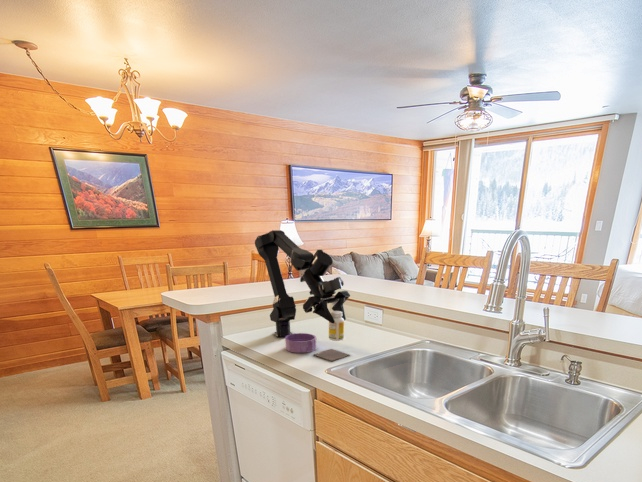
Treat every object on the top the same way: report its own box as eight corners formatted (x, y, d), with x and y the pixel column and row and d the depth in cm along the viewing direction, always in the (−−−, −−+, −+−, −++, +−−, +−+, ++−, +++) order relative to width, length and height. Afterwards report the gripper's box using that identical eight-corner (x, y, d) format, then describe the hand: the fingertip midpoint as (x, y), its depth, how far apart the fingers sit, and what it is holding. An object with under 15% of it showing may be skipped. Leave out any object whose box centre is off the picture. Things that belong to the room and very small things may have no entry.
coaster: (313, 355, 146) (313, 354, 146) (331, 349, 152) (331, 349, 152) (332, 361, 141) (331, 360, 140) (349, 355, 147) (349, 354, 147)
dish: (283, 345, 155) (282, 334, 153) (312, 343, 159) (311, 332, 157) (288, 355, 145) (288, 342, 144) (319, 352, 149) (319, 340, 147)
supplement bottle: (329, 341, 142) (329, 314, 138) (327, 336, 147) (327, 310, 143) (344, 341, 143) (345, 313, 139) (342, 336, 148) (343, 310, 144)
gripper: (308, 271, 131) (332, 312, 129) (346, 267, 144) (369, 303, 143) (292, 293, 139) (315, 331, 137) (330, 286, 152) (352, 321, 150)
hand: (339, 321), depth 142 cm, fingers closed on supplement bottle, 5 cm apart
